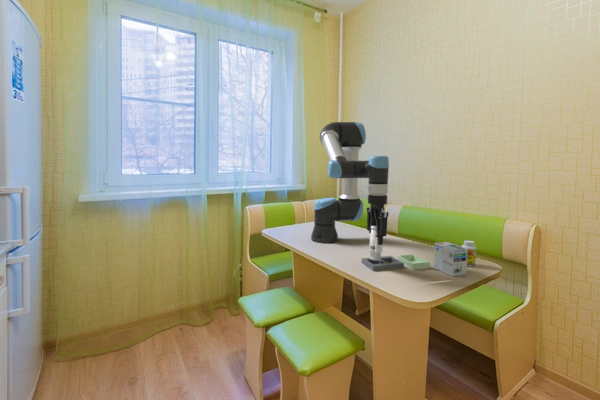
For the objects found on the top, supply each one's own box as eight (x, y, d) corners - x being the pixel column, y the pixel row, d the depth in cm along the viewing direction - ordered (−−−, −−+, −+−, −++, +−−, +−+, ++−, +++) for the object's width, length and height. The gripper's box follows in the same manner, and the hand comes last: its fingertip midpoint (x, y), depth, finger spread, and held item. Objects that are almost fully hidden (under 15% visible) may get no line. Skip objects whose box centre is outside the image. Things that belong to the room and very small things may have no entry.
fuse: (367, 258, 125) (369, 225, 123) (377, 257, 126) (378, 225, 124) (373, 261, 120) (374, 227, 119) (382, 260, 122) (384, 227, 120)
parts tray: (396, 262, 129) (397, 255, 129) (412, 260, 131) (413, 254, 131) (412, 270, 119) (412, 263, 118) (429, 269, 121) (429, 262, 120)
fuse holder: (361, 263, 127) (361, 258, 127) (390, 260, 131) (390, 255, 130) (372, 272, 118) (373, 266, 117) (403, 268, 121) (404, 263, 121)
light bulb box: (466, 275, 114) (468, 248, 113) (452, 277, 112) (454, 249, 111) (445, 266, 124) (447, 241, 123) (432, 267, 123) (434, 242, 121)
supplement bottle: (457, 264, 126) (459, 241, 125) (463, 261, 130) (464, 238, 129) (472, 267, 122) (474, 243, 121) (477, 264, 126) (478, 241, 124)
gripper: (359, 192, 127) (358, 245, 130) (380, 197, 110) (378, 257, 113) (375, 191, 129) (373, 243, 132) (398, 196, 112) (395, 255, 115)
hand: (375, 250), depth 123 cm, fingers closed on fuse, 4 cm apart
